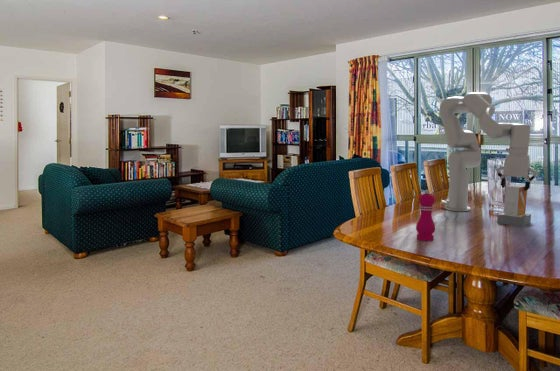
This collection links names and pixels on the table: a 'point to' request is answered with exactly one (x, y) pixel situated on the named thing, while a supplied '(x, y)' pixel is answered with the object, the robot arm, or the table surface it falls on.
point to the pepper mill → (426, 218)
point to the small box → (515, 200)
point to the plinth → (514, 219)
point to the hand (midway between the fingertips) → (514, 188)
